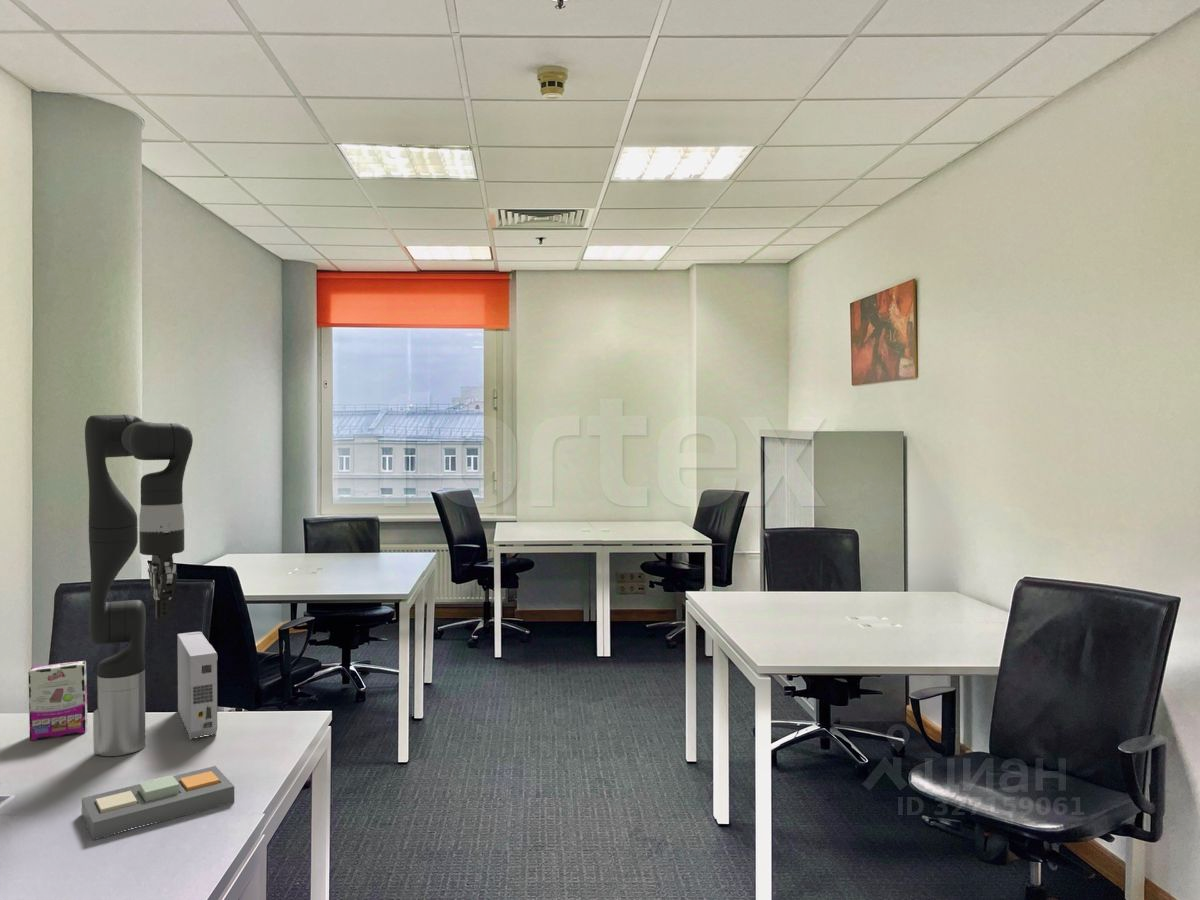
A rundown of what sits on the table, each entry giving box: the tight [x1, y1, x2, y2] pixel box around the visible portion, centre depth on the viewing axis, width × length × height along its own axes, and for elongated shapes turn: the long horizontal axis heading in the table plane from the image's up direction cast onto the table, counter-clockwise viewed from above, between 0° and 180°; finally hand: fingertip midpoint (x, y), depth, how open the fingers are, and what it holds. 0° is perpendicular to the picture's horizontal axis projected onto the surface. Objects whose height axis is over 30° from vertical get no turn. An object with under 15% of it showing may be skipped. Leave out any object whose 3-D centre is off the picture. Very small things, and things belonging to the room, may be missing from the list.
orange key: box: [180, 771, 219, 791], centre depth 156 cm, size 6×6×2 cm
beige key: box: [96, 791, 137, 814], centre depth 147 cm, size 6×6×2 cm
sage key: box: [139, 774, 179, 802], centre depth 151 cm, size 6×6×2 cm
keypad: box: [81, 765, 235, 841], centre depth 151 cm, size 23×13×3 cm, turn 130°
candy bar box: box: [27, 660, 88, 742], centre depth 191 cm, size 11×5×16 cm, turn 117°
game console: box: [177, 631, 218, 738], centre depth 198 cm, size 6×27×20 cm, turn 33°
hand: (162, 619), depth 153 cm, fingers closed
